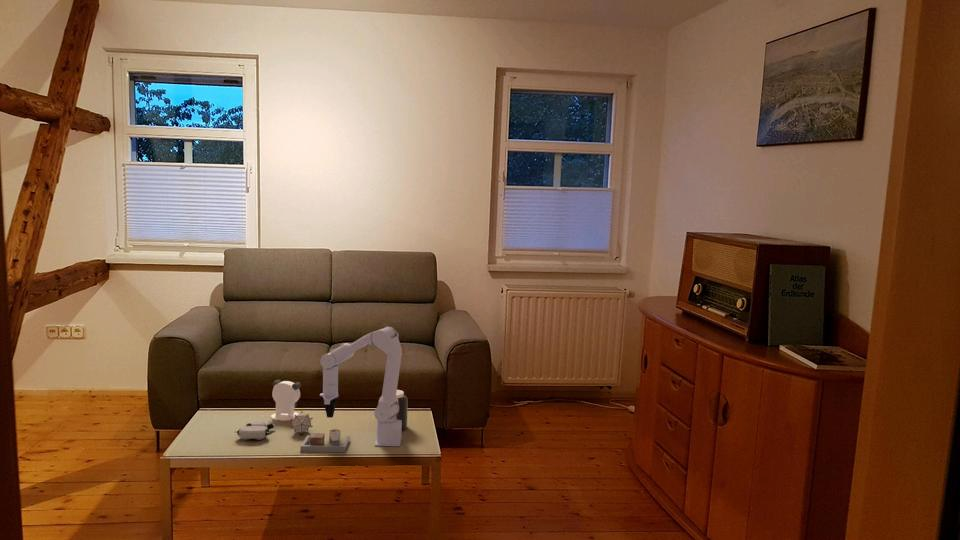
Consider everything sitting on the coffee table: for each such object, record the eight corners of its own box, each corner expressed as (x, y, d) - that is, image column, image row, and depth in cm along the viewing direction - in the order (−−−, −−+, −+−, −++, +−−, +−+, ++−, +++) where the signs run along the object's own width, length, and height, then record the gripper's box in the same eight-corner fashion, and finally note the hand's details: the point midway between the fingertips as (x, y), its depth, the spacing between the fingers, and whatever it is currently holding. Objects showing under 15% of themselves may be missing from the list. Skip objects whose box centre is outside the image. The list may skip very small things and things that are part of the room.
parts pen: (349, 441, 233) (349, 435, 233) (344, 452, 222) (345, 446, 222) (307, 440, 232) (307, 435, 232) (300, 451, 221) (300, 446, 221)
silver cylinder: (340, 444, 229) (340, 429, 228) (339, 448, 225) (340, 433, 224) (329, 444, 228) (329, 429, 228) (328, 449, 224) (328, 433, 224)
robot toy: (245, 431, 241) (233, 442, 226) (245, 420, 241) (233, 430, 226) (277, 431, 242) (266, 442, 227) (277, 420, 242) (267, 430, 227)
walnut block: (324, 444, 228) (324, 433, 228) (322, 449, 224) (322, 437, 223) (312, 444, 228) (312, 433, 228) (309, 449, 223) (309, 437, 223)
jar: (404, 433, 243) (405, 397, 241) (375, 432, 243) (376, 395, 241) (408, 423, 254) (409, 388, 253) (380, 422, 255) (381, 387, 253)
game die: (298, 443, 238) (284, 427, 233) (298, 429, 245) (284, 412, 240) (318, 433, 238) (304, 416, 233) (318, 418, 245) (305, 402, 240)
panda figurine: (305, 413, 262) (306, 379, 260) (291, 422, 251) (291, 386, 250) (280, 410, 265) (281, 376, 263) (265, 418, 254) (265, 383, 252)
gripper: (323, 378, 244) (323, 411, 246) (316, 388, 230) (316, 423, 231) (341, 378, 245) (341, 411, 246) (335, 388, 231) (334, 423, 232)
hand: (330, 417), depth 239 cm, fingers closed
